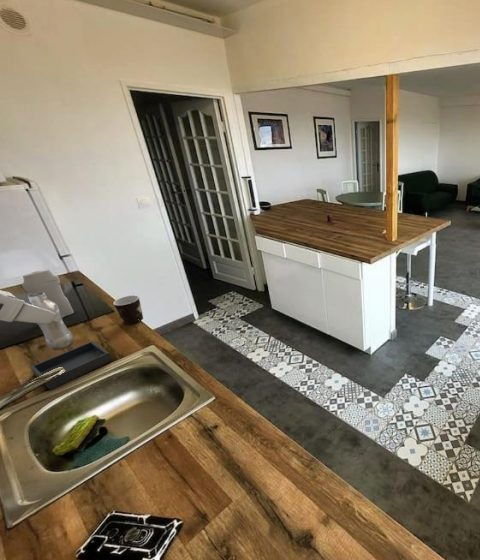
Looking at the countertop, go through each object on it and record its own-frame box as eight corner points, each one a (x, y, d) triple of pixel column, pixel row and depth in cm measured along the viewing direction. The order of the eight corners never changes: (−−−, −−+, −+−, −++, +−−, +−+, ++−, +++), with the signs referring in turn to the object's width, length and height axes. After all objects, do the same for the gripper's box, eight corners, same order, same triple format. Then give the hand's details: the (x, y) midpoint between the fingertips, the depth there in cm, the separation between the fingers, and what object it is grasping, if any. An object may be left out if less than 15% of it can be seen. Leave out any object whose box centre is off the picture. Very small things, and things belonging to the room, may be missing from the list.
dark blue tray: (50, 390, 98) (45, 381, 97) (34, 374, 104) (29, 366, 103) (112, 360, 111) (109, 352, 110) (95, 348, 117) (92, 340, 116)
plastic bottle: (76, 338, 108) (50, 287, 100) (77, 347, 104) (50, 294, 96) (50, 346, 104) (21, 294, 96) (50, 355, 100) (19, 301, 91)
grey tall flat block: (73, 310, 141) (52, 266, 132) (76, 313, 139) (54, 268, 130) (40, 320, 133) (15, 274, 124) (43, 323, 131) (18, 277, 122)
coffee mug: (134, 314, 140) (126, 294, 135) (151, 315, 139) (144, 296, 134) (109, 328, 129) (100, 308, 125) (127, 330, 128) (119, 309, 124)
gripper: (-37, 309, 89) (24, 321, 101) (8, 322, 83) (66, 332, 96) (-23, 289, 91) (35, 302, 103) (21, 300, 85) (77, 313, 98)
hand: (51, 317), depth 100 cm, fingers closed on plastic bottle, 6 cm apart
